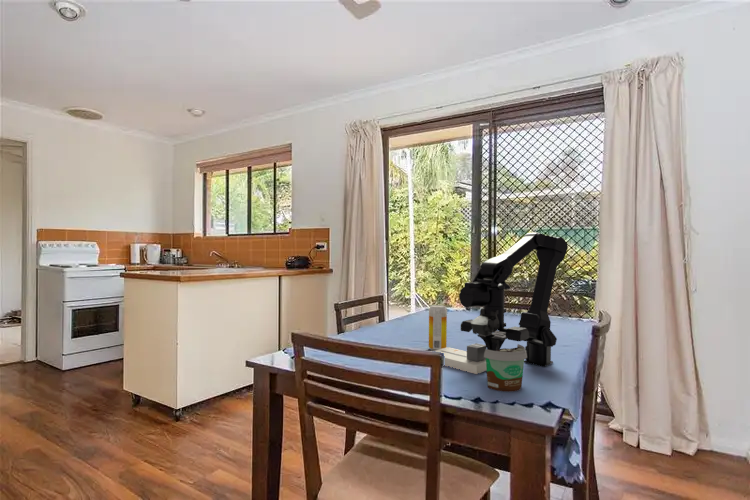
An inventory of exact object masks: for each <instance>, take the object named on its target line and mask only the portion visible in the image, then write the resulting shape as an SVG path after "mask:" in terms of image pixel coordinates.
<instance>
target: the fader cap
mask: <svg viewBox="0 0 750 500" xmlns="http://www.w3.org/2000/svg"><path fill="white" fill-rule="evenodd" d="M485 349H487V347H486V344H481V343H477V342H476V343H471V344H470V345H466V351H467V360H470V361H475V362H479V361H482V360H485V359H486V358H485V357H484V352H485Z"/></svg>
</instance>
